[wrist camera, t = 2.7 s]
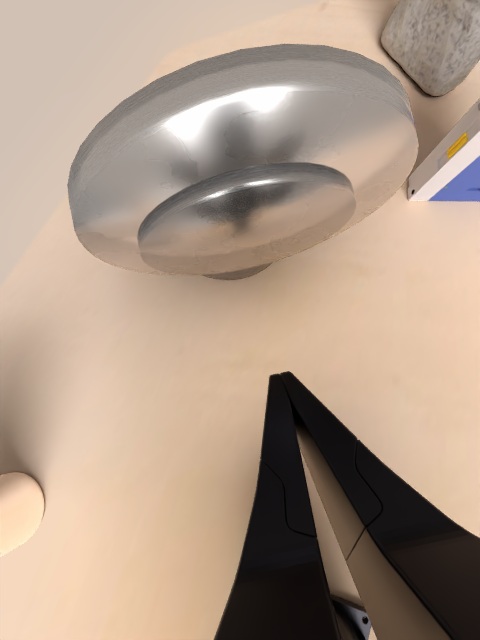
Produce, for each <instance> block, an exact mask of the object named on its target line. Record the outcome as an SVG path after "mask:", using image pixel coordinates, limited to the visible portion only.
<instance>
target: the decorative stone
mask: <svg viewBox="0 0 480 640" xmlns="http://www.w3.org/2000/svg"><path fill="white" fill-rule="evenodd" d="M381 43H382V45H383V47H384V49H385V50H386V51H387V52H388V53H389V55H390V56H391V57H392V58H393V59H394V60H395V61H396V62H398V63H399V64H400V65H401V66H402V68H403V70H404V71H405V72H406V73H407V74H408V75H409V76H410V77H411V78H412V79H413V80H414V81H415V82H416V83H417V84H418V85H419V86H420V88H421V89H422V90H423V91H424V92H426V93H427V94H430V95H432V96H441V95H444V94H446V93H448V92H449V91H452V90H453V89H454V88H455V87H456V86H458V85H459V84H460V83H462V82H463V81H464V80H465V78H466V77H467V76H468V74H469V73H470V71H471V70H472V69H473V68H474V66H475V65H476V64H477V62H478V61H479V60H480V0H400V1H399V2H398V4H397V6H396V8H395V9H394V11H393V13H392V14H391V16H390V18H389V20H388V22H387V24H386V26H385V28H384V30H383V33H382V37H381Z"/></svg>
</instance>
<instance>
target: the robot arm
mask: <svg viewBox="0 0 480 640" xmlns="http://www.w3.org/2000/svg"><path fill="white" fill-rule="evenodd" d="M299 446H300V448H299ZM300 449H301V451H302V454H303V456H304V458H305V461H306V463H307V466H308V468H309V471H310V473H311V476H312V478H313V481H314V483H315V486H316V488H317V491H318V493H319V496H320V498H321V501H322V503H323V506H324V508H325V511H326V513H327V516H328V518H329V521H330V523H331V526H332V528H333V530H334V533H335V535H336V538H337V540H338V543H339V545H340V548H341V550H342V553H343V555H344V558H345V560H346V563H347V565H348V568H349V570H350V573H351V575H352V578H353V580H354V583H355V585H356V588H357V590H358V593H359V595H360V598H361V600H362V603H363V605H364V607H365V608H363V607H361V606H358V605H356V604H353V603H351V602H348V601H346V600H343V599H341V598H338V597H336V596H333V595H331V594H330V591H329V587H328V583H327V579H326V575H325V571H324V567H323V562H322V558H321V553H320V548H319V543H318V539H317V533H316V528H315V523H314V518H313V513H312V508H311V503H310V498H309V493H308V488H307V483H306V478H305V473H304V468H303V463H302V458H301V453H300ZM260 459H261V460H260V464H259V473H258V480H257V487H256V492H255V497H254V502H253V507H252V511H251V516H250V520H249V524H248V528H247V533H246V537H245V541H244V546H243V550H242V554H241V558H240V562H239V566H238V570H237V573H236V577H235V580H234V583H233V586H232V589H231V592H230V595H229V598H228V601H227V604H226V607H225V609H224V612H223V615H222V618H221V621H220V624H219V626H218V629H217V632H216V635H215V638H214V640H368V638H369V633H370V628H371V625H372V627H373V630H374V632H375V635H376V637H377V640H480V538H479V537H477V536H475V535H474V534H472V533H470V532H469V531H467V530H466V529H464V528H463V527H461V526H460V525H458V524H457V523H455V522H454V521H453V520H451V519H450V518H449V517H447V516H446V515H445V514H444V513H442V512H441V511H440V510H439V509H437V508H436V507H435V506H434V505H433V504H431V503H430V502H429V501H428V500H427V499H425V498H424V497H423V496H422V495H421V494H419V493H418V492H417V491H416V490H415V489H413V488H412V487H411V486H410V485H409V484H407V483H406V482H405V481H404V480H403V479H401V478H400V477H399V476H398V475H397V474H395V473H394V472H393V471H392V470H391V469H390V468H388V467H387V466H386V465H385V464H384V463H383V462H382V461H381V460H379V459H378V458H377V457H376V456H375V455H374V454H373V453H372V452H371V451H370V450H369V449H368V448H367V447H366V446H365V445H364V444H363V443H362V442H361V441H360V440H357V437H356V436H355V435H354V434H353V433H352V432H351V431H350V430H349V429H348V428H347V427H346V426H345V425H344V424H343V423H342V422H341V421H340V420H339V419H338V418H337V417H336V416H335V415H334V414H333V413H332V412H331V411H330V410H329V409H328V408H327V407H326V406H324V405H323V404H322V403H321V402H320V401H319V400H318V399H317V398H316V397H315V396H314V395H313V394H312V393H311V392H310V391H309V390H308V389H307V388H306V387H305V386H304V385H303V384H302V383H301V382H300V381H299V380H298V379H297V378H296V377H295V376H294V375H293V374H292V373H291V372H289V371H288V372H283V373H280V374H273V375H270V377H269V385H268V394H267V403H266V412H265V421H264V430H263V439H262V447H261V456H260ZM364 616H365V618H364V619H362V618H363V617H364Z"/></svg>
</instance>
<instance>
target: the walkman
mask: <svg viewBox="0 0 480 640" xmlns="http://www.w3.org/2000/svg"><path fill="white" fill-rule="evenodd" d="M408 181H409V188H408V189H407V192H408V201H480V98H479V100H478V101H477V102H476V103H475V104H474V105H473V106H472V107H471V108H470V110H469V111H468V112H467V113H466V114H465V115H464V116H463V117H462V118H461V120H460V121H459V122H458V123H457V124H456V125H455V126H454V127H453V128H452V130H451V131H450V132H449V133H448V134H447V135H446V136H445V137H444V139H443V140H442V141H441V142H440V143H439V144H438V145H437V146H436V147H435V149H434V150H433V151H432V152H431V153H430V154H429V155H428V156H427V157H426V159H425V160H424V161H423V162H422V163H421V164H420V165H419V166H418V167H417V169H416V170H415V171H414V172H413V173H412V174H411V175H410V176H409V177H408Z"/></svg>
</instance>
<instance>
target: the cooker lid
mask: <svg viewBox="0 0 480 640" xmlns="http://www.w3.org/2000/svg"><path fill="white" fill-rule="evenodd" d="M418 148H419V143H418V138H417V132H416V128H415V123H414V119H413V115H412V110H411V106H410V101H409V97H408V96H407V94H406V92H405V90H404V88H403V87H402V85H401V83H400V81H399V80H398V79H397V78H396V77H395V76H393V75H392V74H391V73H390V72H389V71H388V70H387V69H386V68H385V67H384V66H383V65H381V64H379V63H377V62H374V61H372V60H370V59H368V58H366V57H364V56H362V55H360V54H358V53H355V52H351V51H346V50H342V49H338V48H333V47H329V46H325V45H300V44H280V45H272V46H264V47H256V48H248V49H240V50H237V51H233V52H230V53H226V54H223V55H219V56H215V57H212V58H208V59H205V60H201V61H198V62H195V63H193V64H190V65H188V66H186V67H184V68H181V69H179V70H177V71H175V72H172V73H170V74H168V75H166V76H163V77H161V78H159V79H157V80H155V81H153V82H152V83H150V84H149V85H147V86H146V87H144V88H142V89H141V90H139V91H138V92H136V93H135V94H133V95H131V96H130V97H128V98H127V99H125V100H124V101H122V102H121V103H120V104H119V105H118V106H117V107H116V108H114V109H113V110H112V111H111V112H110V113H109V114H108V115H107V116H105V117H104V118H103V119H102V120H101V121H100V122H99V123H98V124H97V125H96V126H95V128H94V129H93V130H92V132H91V133H90V134H89V135H88V137H87V138H86V140H85V141H84V142H83V143H82V145H81V146H80V148H79V150H78V153H77V154H76V157H75V159H74V161H73V163H72V165H71V169H70V175H69V180H68V196H69V204H70V209H71V214H72V219H73V224H74V229H75V232H76V234H77V237H78V239H79V241H80V242H81V243H82V245H83V246H84V247H85V248H86V250H88V251H89V252H90V253H91V254H93V255H94V256H95V257H97V258H99V259H101V260H102V261H104V262H106V263H109V264H111V265H114V266H117V267H120V268H124V269H127V270H132V271H137V272H143V273H151V274H167V275H201V274H215V273H223V272H230V271H236V270H242V269H247V268H251V267H255V266H259V265H263V264H267V263H270V262H273V261H277V260H280V259H283V258H285V257H288V256H291V255H294V254H296V253H299V252H301V251H303V250H306V249H308V248H310V247H312V246H314V245H316V244H318V243H320V242H322V241H324V240H327V239H329V238H331V237H333V236H335V235H337V234H339V233H340V232H342V231H344V230H346V229H348V228H350V227H351V226H353V225H354V224H356V223H358V222H359V221H361V220H362V219H364V218H365V217H367V216H368V215H370V214H371V213H373V212H374V211H375V210H376V209H378V208H379V207H380V206H382V205H383V204H384V203H385V202H386V201H387V200H388V199H389V198H390V197H392V196H393V195H394V194H395V192H396V191H397V190H398V189H399V188H400V187H401V186H402V185H403V183H404V182H405V180H406V179H407V177H408V176H409V174H410V173H411V171H412V169H413V167H414V164H415V162H416V160H417V155H418Z"/></svg>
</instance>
